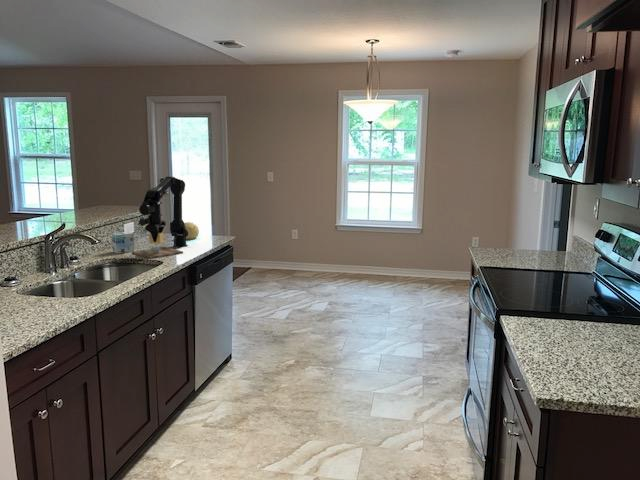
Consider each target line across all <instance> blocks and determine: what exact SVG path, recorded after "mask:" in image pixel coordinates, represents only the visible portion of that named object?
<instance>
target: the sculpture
mask: <svg viewBox="0 0 640 480" xmlns="http://www.w3.org/2000/svg"><path fill="white" fill-rule="evenodd" d="M184 223H185V228H186V229H187V231H188V236H186V240H193V239H197V237H198V236H199V232H200V229H199V226H197V224H195V223H194V222H189V221H188V222H184Z"/></svg>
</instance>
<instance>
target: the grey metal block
mask: <svg viewBox="0 0 640 480" xmlns="http://www.w3.org/2000/svg"><path fill="white" fill-rule="evenodd" d="M161 247H162V246H161V245H154V246H152V248H153V254H159V253H161Z"/></svg>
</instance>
